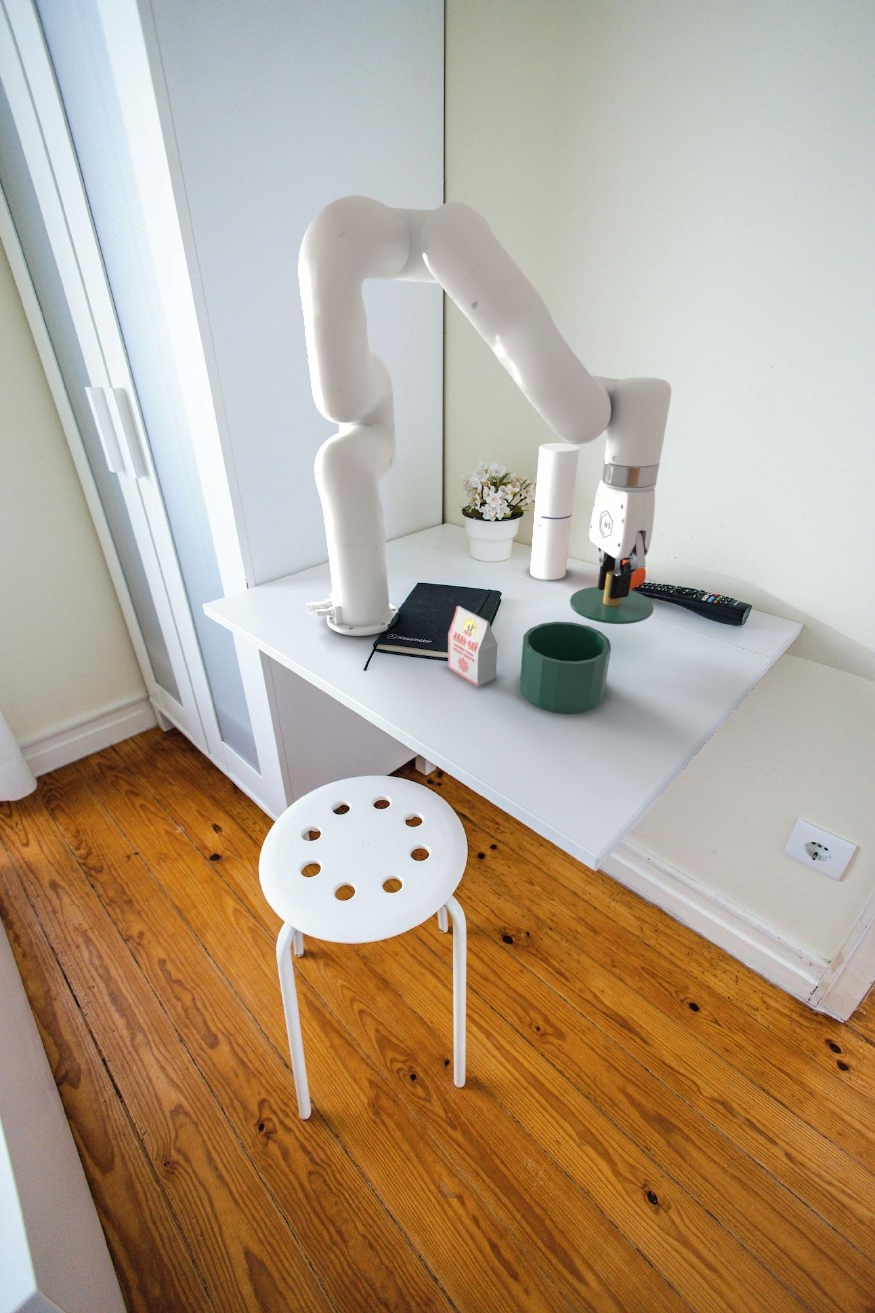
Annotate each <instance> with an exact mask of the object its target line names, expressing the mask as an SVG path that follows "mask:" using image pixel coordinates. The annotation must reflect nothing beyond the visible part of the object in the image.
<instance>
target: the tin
mask: <svg viewBox="0 0 875 1313" xmlns="http://www.w3.org/2000/svg"><path fill="white" fill-rule="evenodd" d="M611 652H612V646H611V642H610V639H609V638H608V637H607V636H606V635H605V634H604V633H602V632H601V631H600V630H598V629H595V628H593V627H591V626H589V625H586V624H582V623H577V622H571V621H551V622H544V623H540V624H537V625H535V626H532V627H530V628H529V629H528V630H527V631H526V632H525V633H524V634H523V636H522V649H521V664H520V678H519V690H520V693H521V695H522V696H523V698H524V699H525V700H526V701H527V702H528V703H530V704H531V705H533V706H535V707H537V708H538V709H541V710H544V711H547V712H550V713H557V714H564V715H565V714H580V713H584V712H588V711H590V710H592V709H594V708H596V707H597V706H598V705H599V704H600V703H601V702H602V700H603V697H604V695H605V690H606V685H607V684H606V683H607V678H608V677H607V676H608V670H609V666H610V665H609V664H610V658H611Z"/></svg>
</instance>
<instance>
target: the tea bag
mask: <svg viewBox="0 0 875 1313" xmlns="http://www.w3.org/2000/svg"><path fill="white" fill-rule="evenodd" d="M497 657H498V641H497V639H496V638H495V635H494V633H493V630H492V628H491V623H490V621H488V620H487V619H484V618H483V617H481V616H479V615H478V614H475V613H473V612H471V611H469V610H468V609H466V608H463V607H462V606H460V605H458V606H457V605H456V606H455V612H454V615H453V618H452V621H451V623H450V627H449V630H448V633H447V668H448V669H450V671H452V672H454V673H455V674H457V675H459V676H460V677H462V678H463V679H465V680H467V681H468V682H469V683H471V684H472V685H474V686H476V687H479V686H482V685H484V684H486V683H488V682H490V681H492V680H495V679H496V677H497V660H498V659H497Z"/></svg>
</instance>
